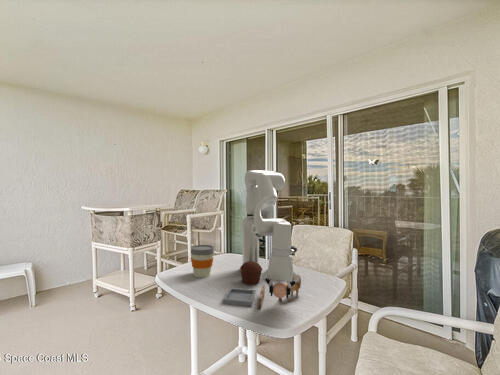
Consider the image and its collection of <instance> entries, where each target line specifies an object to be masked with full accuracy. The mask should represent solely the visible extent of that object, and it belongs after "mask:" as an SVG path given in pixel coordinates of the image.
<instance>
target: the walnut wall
mask: <svg viewBox="0 0 500 375" xmlns="http://www.w3.org/2000/svg"><path fill="white" fill-rule="evenodd" d="M265 288H266V286H263V285H262V286H261V289H260V291H259V296H258V300H257V302H258V303H257V306H258V307H257V309H258V310H262V308H263V302H264V298H265V291H266V290H265Z"/></svg>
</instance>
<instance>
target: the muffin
mask: <svg viewBox="0 0 500 375" xmlns="http://www.w3.org/2000/svg"><path fill="white" fill-rule="evenodd" d="M240 267H241V268H240ZM240 267H239V271H240V270H241V271H240V272H241V274H240V275H241V280H242V283H243V284H244V285H249V286H253V285H258V284H259V283H260V280H261V277H262V271H263V268H262V266H261V265H260V263H259V264H258V263H256V262H253V261H248V262H245V263H244V264H243V263H242V264H241V265H240Z"/></svg>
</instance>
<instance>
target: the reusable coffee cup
mask: <svg viewBox="0 0 500 375" xmlns="http://www.w3.org/2000/svg"><path fill="white" fill-rule="evenodd" d="M214 248H215V247H214V246H213V245H209V244H197V245H193V246H192V247H191V248H190V254H191V259H190V260H191V266H192V272H193V273H192V274H193V276H194V277H195V278H200V279H201V278H208V277H209V276H211V272H212V267H213V262H214V254H215V249H214Z"/></svg>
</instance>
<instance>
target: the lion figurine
mask: <svg viewBox="0 0 500 375" xmlns="http://www.w3.org/2000/svg"><path fill="white" fill-rule="evenodd" d="M295 274H296V273H295ZM296 275H297V276H298V277H299V281H298V282H297V283H295V284H294V285H293V286H292V287H291V292H290V296H291V295H293V296H294V292H295V297H296V296H297V297H296V298H299V297H298V296H299V291H300V289H301V285H302V277H301V276H300V275H299V274H298V273H297V274H296ZM294 279H295V278H294V277H293V279H292V280H294ZM284 284H285V285H286V287H287V286H288V284H287V283H284ZM289 298H290V297H289ZM289 298H287V294H286V296H285V299H286V301H288V302H291V301H292V300H291V299H289ZM278 301H279V302H280V303H283V302H282V301H283V298H278Z"/></svg>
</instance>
